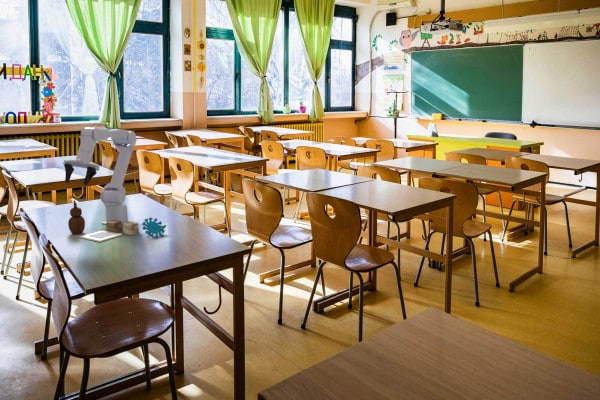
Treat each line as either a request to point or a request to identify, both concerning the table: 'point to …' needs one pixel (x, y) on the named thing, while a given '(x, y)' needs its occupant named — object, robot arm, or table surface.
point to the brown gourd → (76, 220)
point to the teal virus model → (153, 227)
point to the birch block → (130, 228)
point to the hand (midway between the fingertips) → (75, 183)
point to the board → (101, 236)
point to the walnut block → (114, 226)
